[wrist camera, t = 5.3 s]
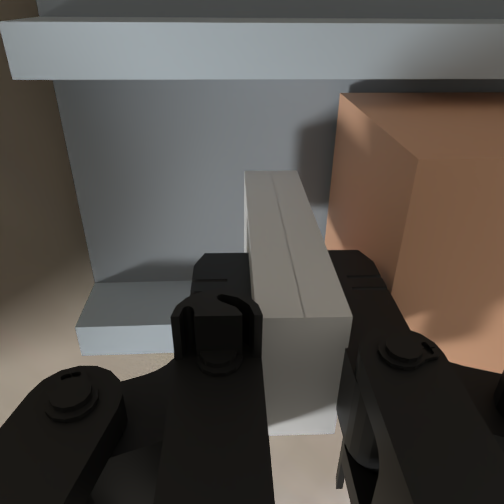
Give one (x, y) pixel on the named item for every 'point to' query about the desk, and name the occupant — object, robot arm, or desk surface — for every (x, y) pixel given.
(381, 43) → the chute
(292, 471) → the desk surface
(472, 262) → the block
